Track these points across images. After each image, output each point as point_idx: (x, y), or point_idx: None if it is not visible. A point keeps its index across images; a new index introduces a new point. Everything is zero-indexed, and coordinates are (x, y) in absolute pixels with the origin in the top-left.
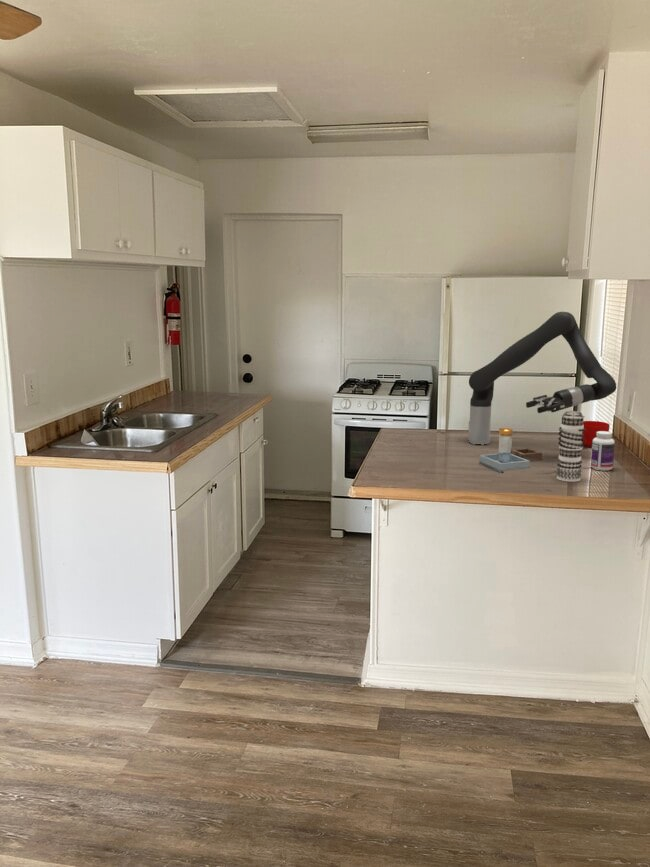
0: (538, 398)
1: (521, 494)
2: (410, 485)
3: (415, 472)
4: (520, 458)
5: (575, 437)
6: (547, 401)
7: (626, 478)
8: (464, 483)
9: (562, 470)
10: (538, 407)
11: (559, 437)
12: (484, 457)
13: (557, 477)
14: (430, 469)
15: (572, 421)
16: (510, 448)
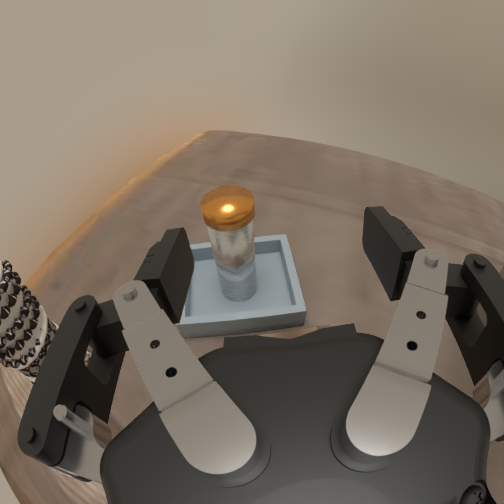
0: (484, 304)
1: (71, 241)
2: (188, 154)
3: (248, 163)
4: (216, 314)
5: None
6: (274, 351)
7: (35, 493)
8: (160, 195)
9: None
10: (180, 230)
11: (25, 290)
12: (261, 237)
13: (87, 351)
14: (260, 177)
15: None
16: (215, 260)
